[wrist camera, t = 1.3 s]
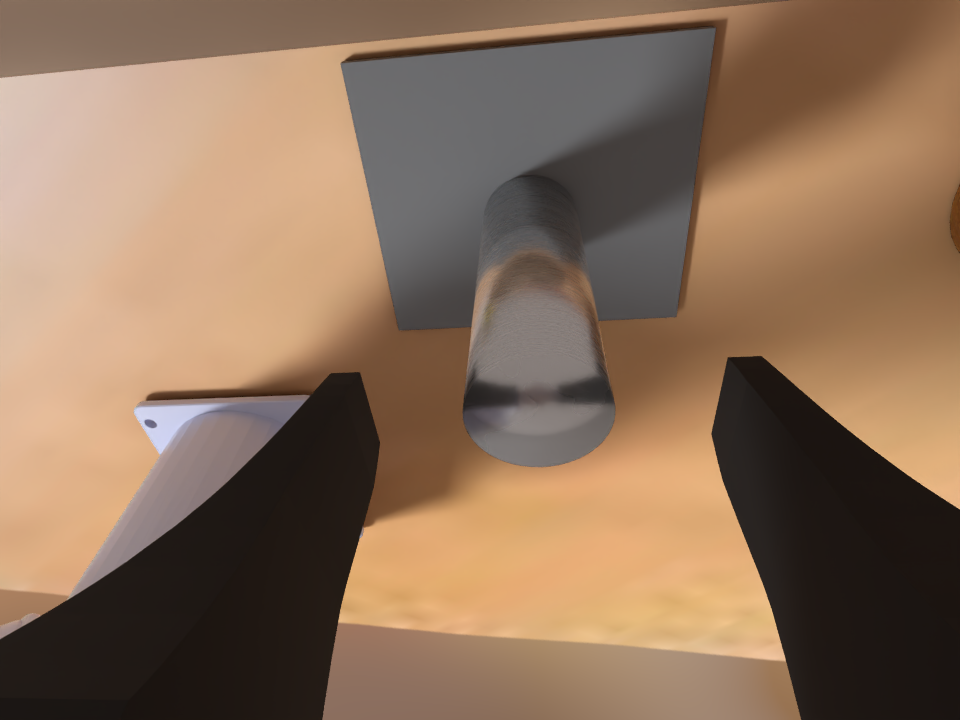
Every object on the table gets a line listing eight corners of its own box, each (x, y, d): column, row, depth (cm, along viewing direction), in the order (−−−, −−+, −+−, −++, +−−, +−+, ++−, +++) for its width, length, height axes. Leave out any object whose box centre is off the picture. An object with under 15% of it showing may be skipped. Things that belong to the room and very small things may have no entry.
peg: (576, 260, 19) (612, 465, 12) (487, 265, 20) (470, 468, 13) (577, 171, 17) (619, 352, 10) (478, 178, 18) (453, 360, 11)
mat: (674, 312, 21) (676, 316, 20) (400, 325, 22) (398, 330, 21) (712, 25, 15) (715, 28, 15) (342, 61, 16) (340, 63, 16)
